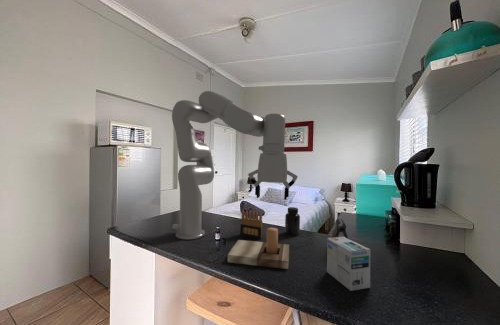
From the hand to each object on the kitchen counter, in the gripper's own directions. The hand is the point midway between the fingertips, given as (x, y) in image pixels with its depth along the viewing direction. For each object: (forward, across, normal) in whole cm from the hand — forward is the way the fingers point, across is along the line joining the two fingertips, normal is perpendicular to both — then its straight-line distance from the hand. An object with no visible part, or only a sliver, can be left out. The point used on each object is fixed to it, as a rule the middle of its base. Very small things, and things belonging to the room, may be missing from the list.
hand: (271, 198), depth 77 cm
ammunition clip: (+22, -10, +19) cm, 30 cm away
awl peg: (+21, +1, 0) cm, 21 cm away
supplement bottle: (+21, +8, +28) cm, 36 cm away
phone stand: (+21, +26, +11) cm, 35 cm away
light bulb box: (+21, +24, -9) cm, 33 cm away
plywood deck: (+21, -3, 0) cm, 21 cm away
